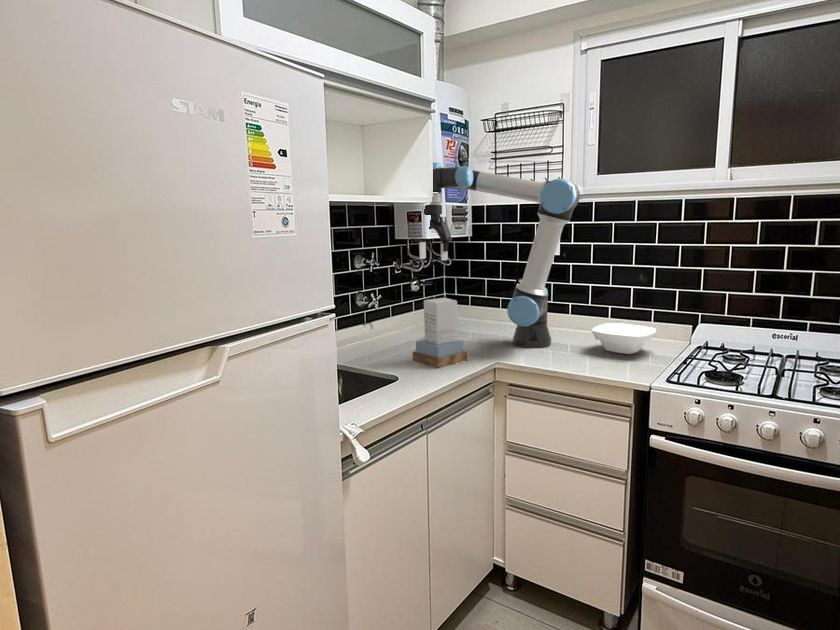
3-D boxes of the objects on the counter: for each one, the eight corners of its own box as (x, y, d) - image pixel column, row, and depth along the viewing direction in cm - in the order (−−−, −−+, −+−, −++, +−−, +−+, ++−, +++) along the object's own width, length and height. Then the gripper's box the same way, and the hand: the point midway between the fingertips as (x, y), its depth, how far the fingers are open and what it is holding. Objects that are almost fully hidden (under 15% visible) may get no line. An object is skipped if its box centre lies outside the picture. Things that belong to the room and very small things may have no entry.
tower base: (442, 355, 202) (441, 345, 202) (467, 362, 192) (467, 352, 191) (412, 362, 194) (412, 351, 193) (437, 370, 183) (437, 359, 182)
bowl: (607, 342, 214) (608, 321, 212) (661, 350, 200) (662, 328, 198) (584, 352, 199) (584, 330, 197) (639, 362, 185) (641, 338, 183)
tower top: (440, 346, 200) (440, 335, 200) (463, 351, 191) (462, 341, 191) (416, 352, 193) (415, 341, 192) (438, 358, 184) (438, 346, 183)
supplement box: (445, 337, 197) (444, 297, 195) (458, 341, 190) (458, 300, 187) (423, 340, 193) (422, 299, 190) (436, 345, 185) (435, 302, 183)
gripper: (405, 205, 214) (407, 258, 218) (445, 203, 194) (446, 261, 198) (420, 205, 218) (421, 257, 222) (461, 203, 199) (461, 260, 203)
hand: (433, 259), depth 210 cm, fingers open, 13 cm apart
